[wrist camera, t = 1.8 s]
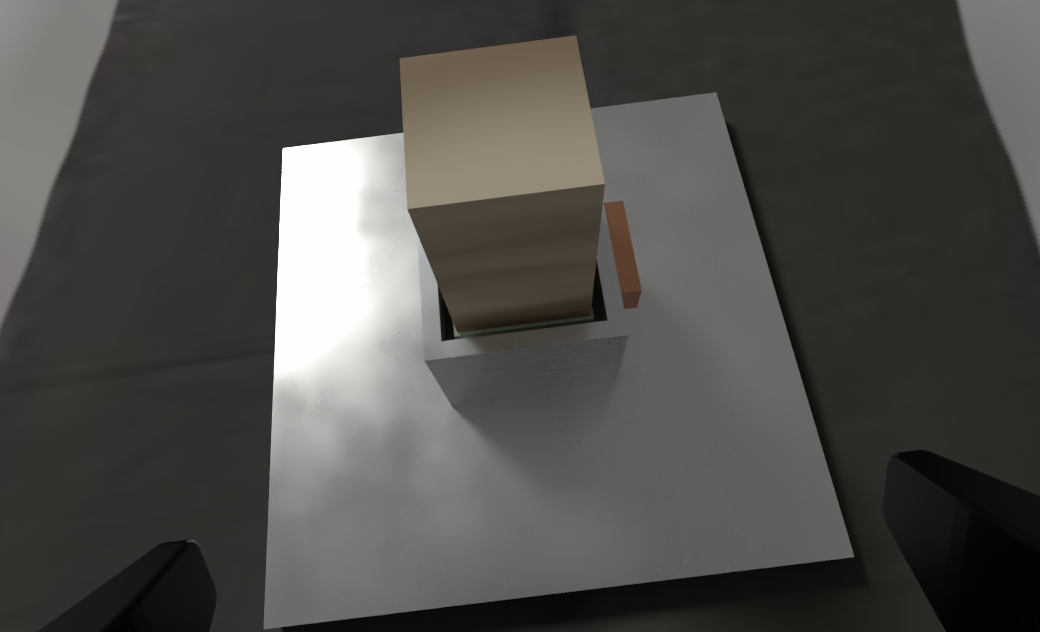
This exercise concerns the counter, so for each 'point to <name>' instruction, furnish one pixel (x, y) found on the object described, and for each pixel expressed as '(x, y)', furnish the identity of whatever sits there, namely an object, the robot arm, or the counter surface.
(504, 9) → the counter surface
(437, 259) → the post
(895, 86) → the counter surface
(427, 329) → the stand
